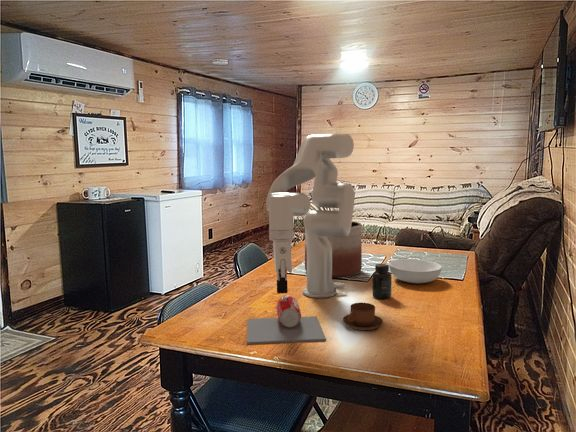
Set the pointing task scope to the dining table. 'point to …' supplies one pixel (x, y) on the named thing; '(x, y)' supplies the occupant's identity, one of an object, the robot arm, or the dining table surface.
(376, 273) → the supplement bottle
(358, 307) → the cup and saucer
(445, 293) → the dining table surface
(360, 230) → the planter
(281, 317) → the soda can
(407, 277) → the serving bowl
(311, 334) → the mat
